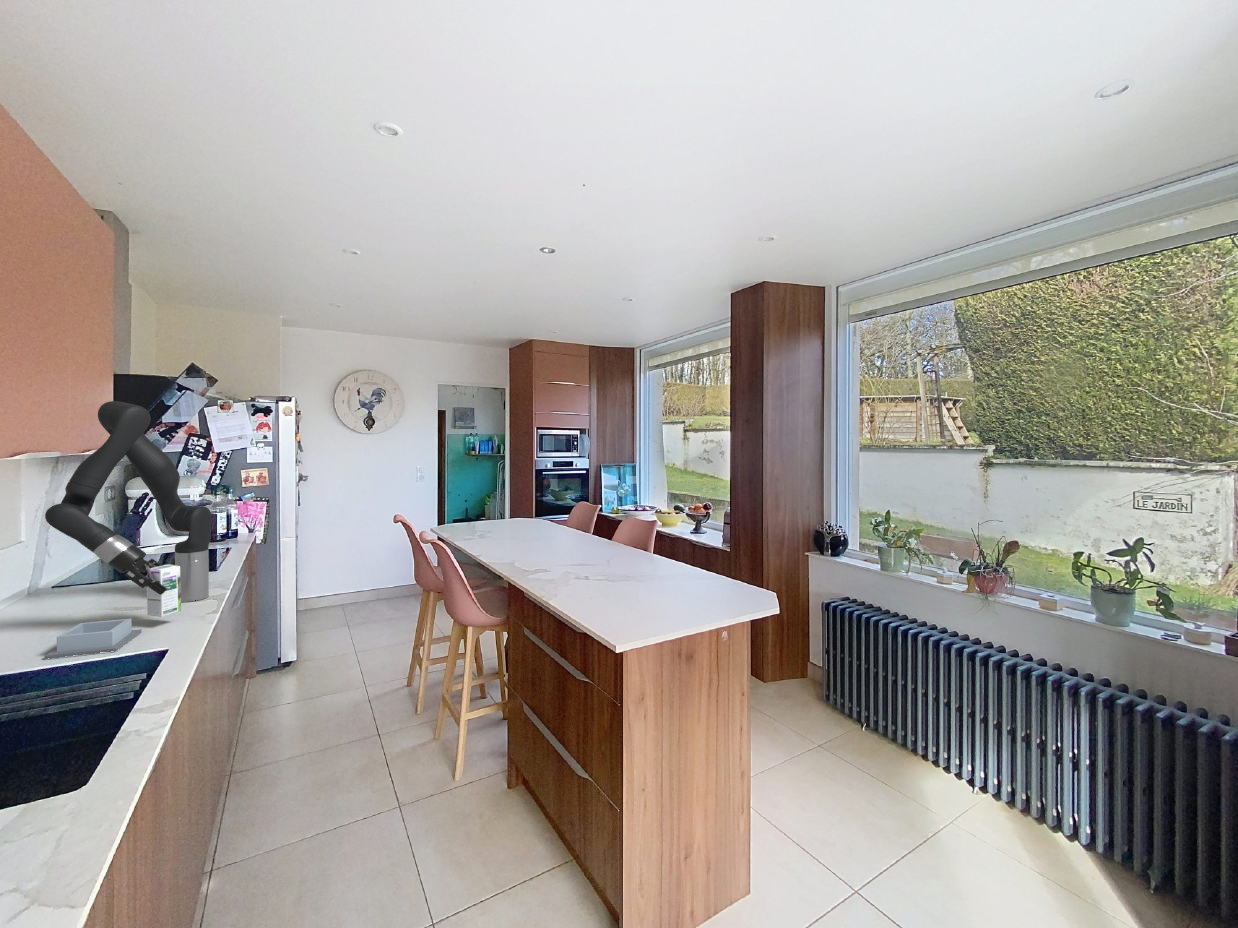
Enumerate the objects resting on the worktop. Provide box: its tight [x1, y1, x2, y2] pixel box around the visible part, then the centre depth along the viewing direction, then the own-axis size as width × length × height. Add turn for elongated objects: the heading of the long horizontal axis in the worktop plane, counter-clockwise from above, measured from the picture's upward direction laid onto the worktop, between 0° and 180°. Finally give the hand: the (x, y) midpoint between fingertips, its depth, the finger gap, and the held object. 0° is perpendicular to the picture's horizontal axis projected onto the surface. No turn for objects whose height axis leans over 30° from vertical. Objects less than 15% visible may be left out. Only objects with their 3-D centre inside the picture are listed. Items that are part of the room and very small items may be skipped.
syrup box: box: [146, 564, 182, 618], centre depth 157 cm, size 6×6×14 cm
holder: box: [43, 618, 142, 660], centre depth 141 cm, size 15×14×5 cm
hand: (169, 588), depth 158 cm, fingers closed on syrup box, 7 cm apart
